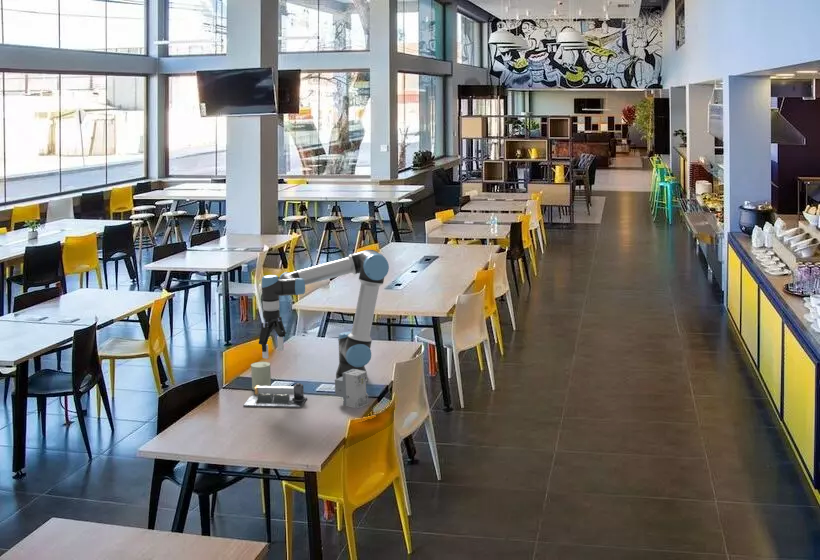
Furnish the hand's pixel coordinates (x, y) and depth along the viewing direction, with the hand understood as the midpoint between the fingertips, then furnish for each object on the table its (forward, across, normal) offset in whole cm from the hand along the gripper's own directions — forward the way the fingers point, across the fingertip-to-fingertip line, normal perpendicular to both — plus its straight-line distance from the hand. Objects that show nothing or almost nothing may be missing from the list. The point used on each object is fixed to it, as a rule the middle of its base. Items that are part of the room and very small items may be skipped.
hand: (273, 354), depth 430 cm
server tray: (+19, +10, +6) cm, 23 cm away
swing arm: (+18, +6, +6) cm, 20 cm away
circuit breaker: (+20, 0, +38) cm, 43 cm away
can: (+20, -6, -11) cm, 23 cm away
